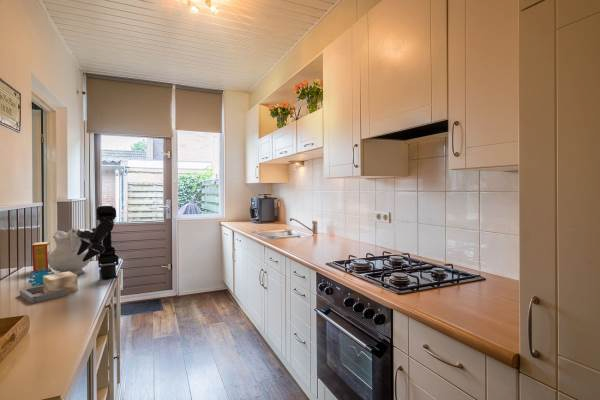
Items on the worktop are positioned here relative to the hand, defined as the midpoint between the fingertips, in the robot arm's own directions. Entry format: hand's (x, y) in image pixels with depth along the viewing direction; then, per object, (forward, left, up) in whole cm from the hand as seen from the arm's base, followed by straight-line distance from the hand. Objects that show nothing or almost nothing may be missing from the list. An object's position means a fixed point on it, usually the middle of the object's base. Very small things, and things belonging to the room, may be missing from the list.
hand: (80, 258), depth 152 cm
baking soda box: (+1, -54, -14) cm, 56 cm away
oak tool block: (+8, +1, -14) cm, 16 cm away
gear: (+10, -18, -14) cm, 25 cm away
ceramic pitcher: (-6, -31, -14) cm, 35 cm away
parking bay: (+14, +1, -13) cm, 20 cm away
